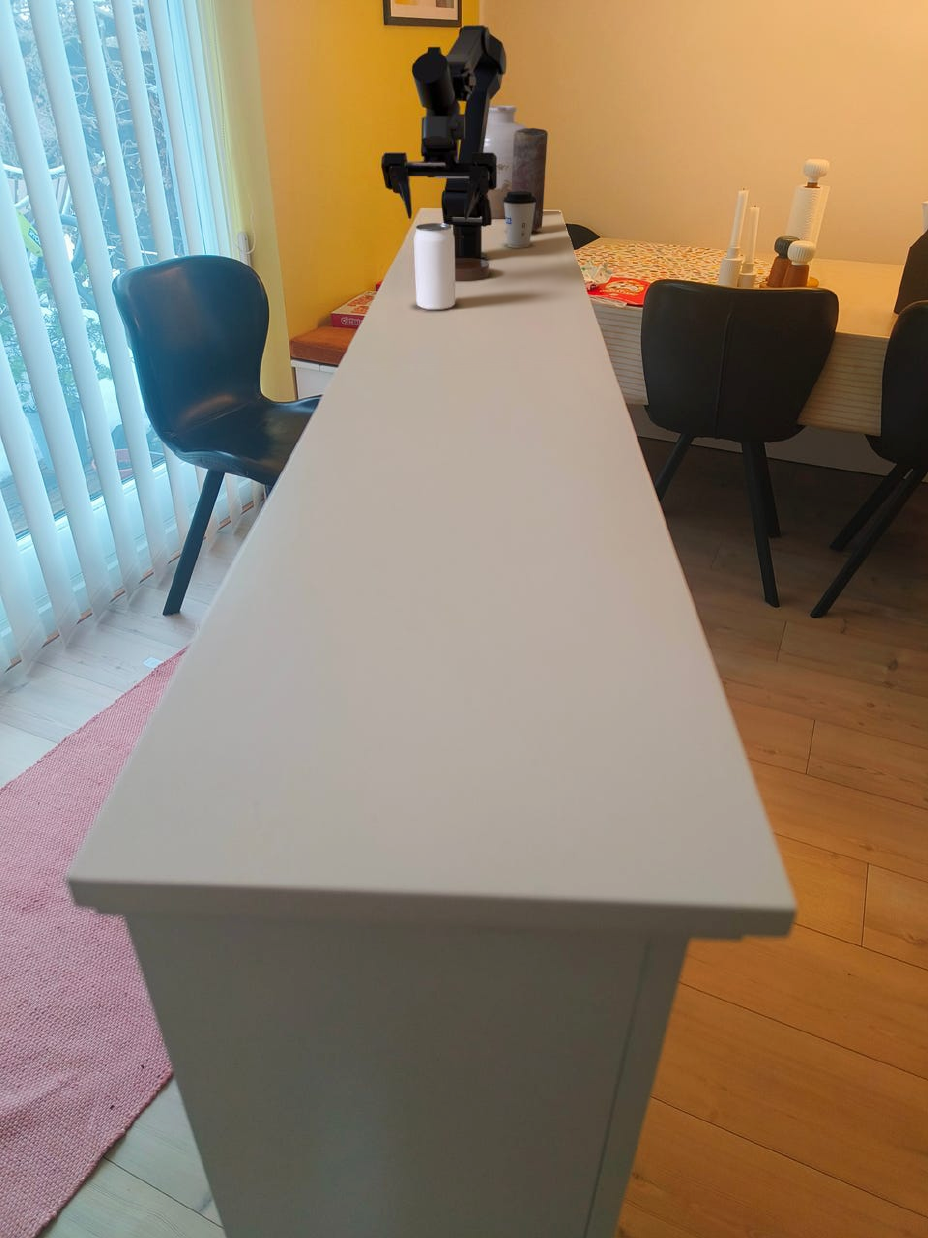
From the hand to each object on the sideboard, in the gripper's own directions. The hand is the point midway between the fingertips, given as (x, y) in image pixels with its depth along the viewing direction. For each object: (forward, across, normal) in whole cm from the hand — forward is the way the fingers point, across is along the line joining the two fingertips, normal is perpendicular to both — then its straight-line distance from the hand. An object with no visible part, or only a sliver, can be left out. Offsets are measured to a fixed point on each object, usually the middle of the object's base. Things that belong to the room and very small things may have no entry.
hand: (437, 217), depth 133 cm
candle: (-31, +14, +48) cm, 59 cm away
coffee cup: (-20, +13, +38) cm, 45 cm away
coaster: (-2, +3, +19) cm, 20 cm away
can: (+13, 0, +4) cm, 14 cm away
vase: (-46, +8, +63) cm, 78 cm away
